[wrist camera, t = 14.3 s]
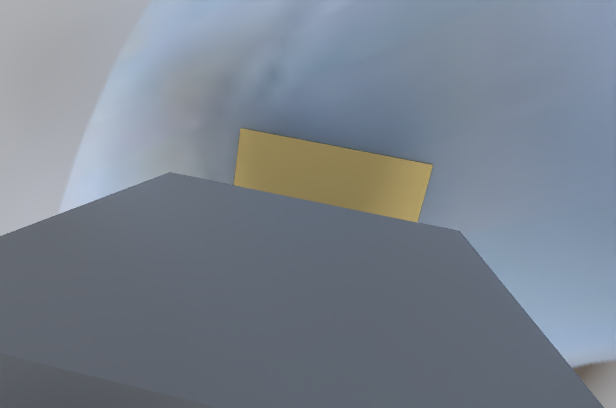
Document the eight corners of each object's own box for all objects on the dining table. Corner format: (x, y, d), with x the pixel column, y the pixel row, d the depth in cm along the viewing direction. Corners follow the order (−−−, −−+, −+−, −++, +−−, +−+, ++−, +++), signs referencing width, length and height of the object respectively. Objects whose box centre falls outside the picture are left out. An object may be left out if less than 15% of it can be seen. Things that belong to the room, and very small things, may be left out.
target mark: (386, 331, 25) (386, 333, 25) (221, 294, 26) (220, 295, 26) (432, 164, 22) (433, 165, 22) (241, 128, 23) (240, 128, 22)
